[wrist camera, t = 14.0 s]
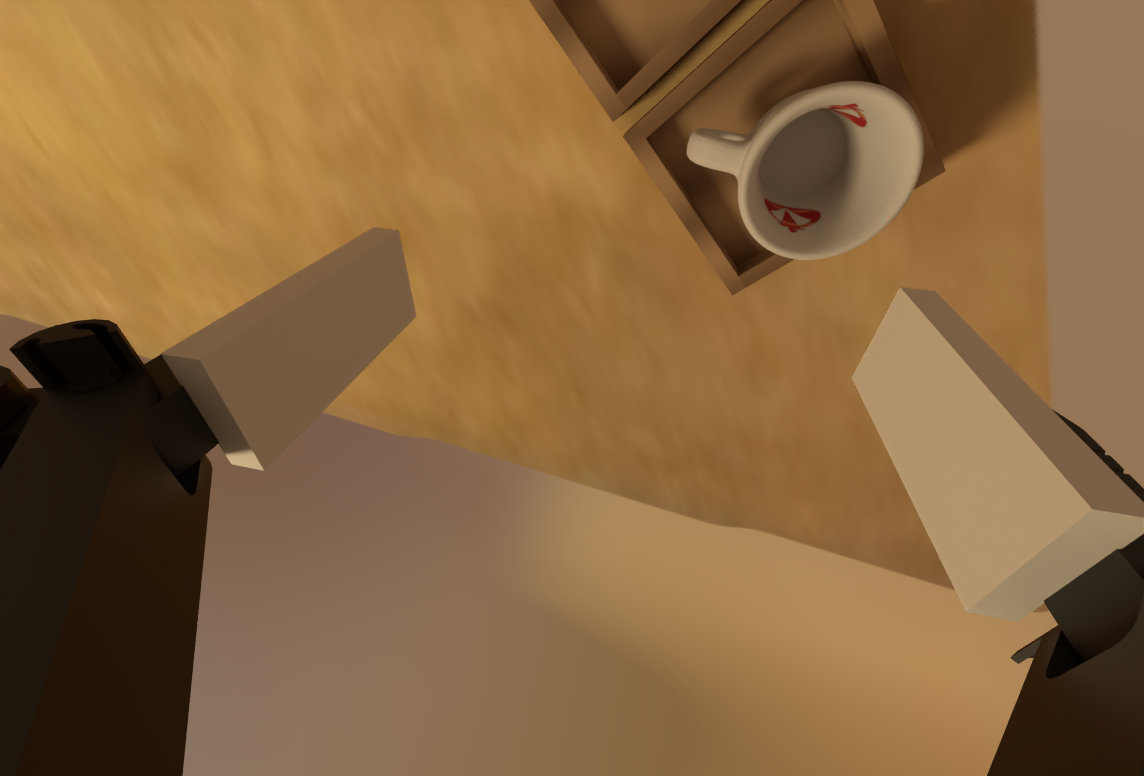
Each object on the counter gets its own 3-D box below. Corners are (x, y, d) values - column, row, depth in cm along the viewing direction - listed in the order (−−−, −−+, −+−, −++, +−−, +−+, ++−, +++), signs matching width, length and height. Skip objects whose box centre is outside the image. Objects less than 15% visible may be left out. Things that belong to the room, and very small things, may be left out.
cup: (671, 196, 31) (665, 232, 25) (710, 53, 26) (714, 53, 20) (830, 229, 30) (865, 276, 24) (901, 88, 25) (969, 100, 19)
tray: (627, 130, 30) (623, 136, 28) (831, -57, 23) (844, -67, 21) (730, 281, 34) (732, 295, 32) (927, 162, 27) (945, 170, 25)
